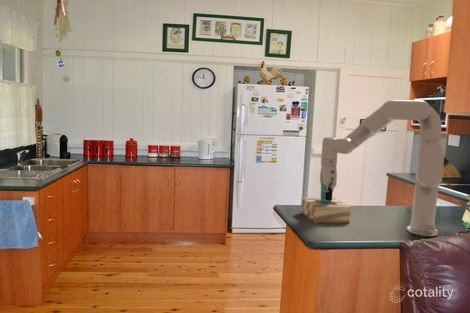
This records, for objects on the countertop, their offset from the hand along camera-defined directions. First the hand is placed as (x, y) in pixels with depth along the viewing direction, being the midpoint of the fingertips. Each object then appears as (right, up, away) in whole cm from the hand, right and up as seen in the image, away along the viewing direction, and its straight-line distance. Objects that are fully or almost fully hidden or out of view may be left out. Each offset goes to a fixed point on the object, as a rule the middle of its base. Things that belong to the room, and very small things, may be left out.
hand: (326, 198), depth 189 cm
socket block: (-1, -10, +1) cm, 10 cm away
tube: (0, -6, +1) cm, 6 cm away
